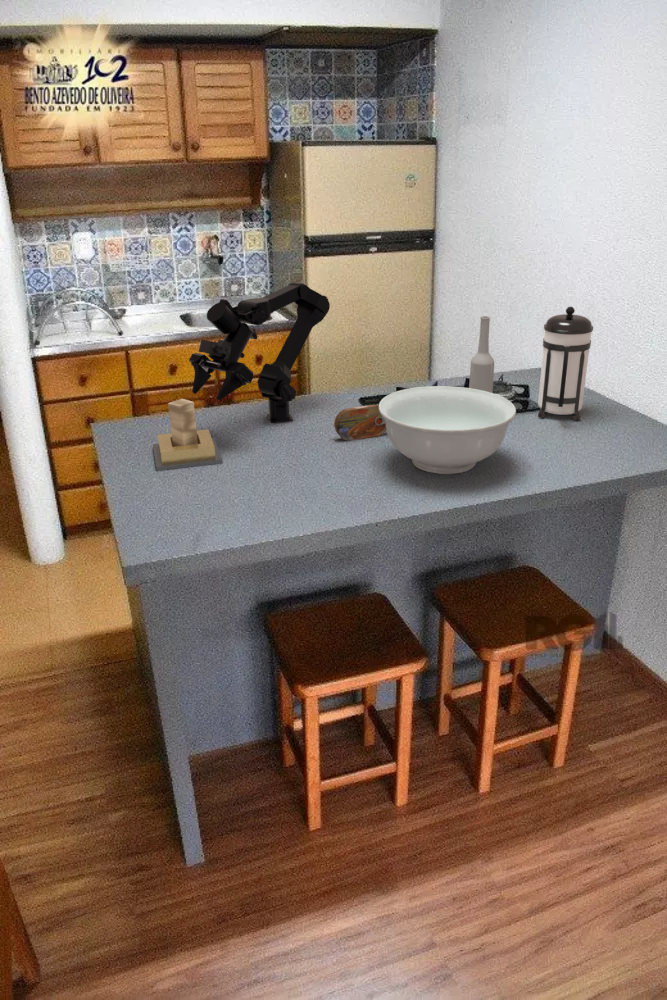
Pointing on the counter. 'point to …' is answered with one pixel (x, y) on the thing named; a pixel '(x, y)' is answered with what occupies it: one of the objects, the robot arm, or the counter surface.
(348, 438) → the tin
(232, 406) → the counter surface
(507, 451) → the counter surface
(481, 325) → the bottle
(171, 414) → the pin
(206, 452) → the socket
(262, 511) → the counter surface
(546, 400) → the coffee press
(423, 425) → the bowl
